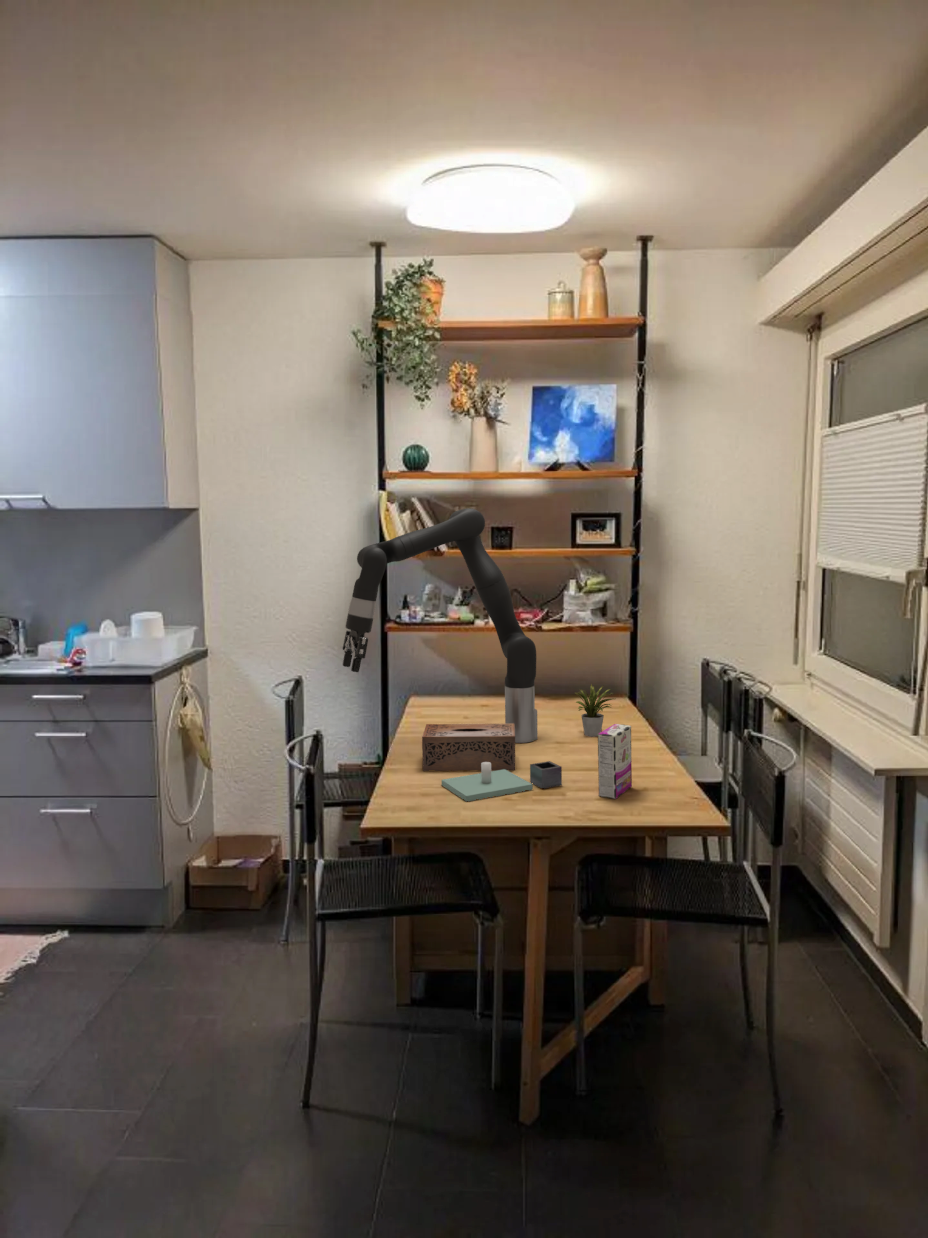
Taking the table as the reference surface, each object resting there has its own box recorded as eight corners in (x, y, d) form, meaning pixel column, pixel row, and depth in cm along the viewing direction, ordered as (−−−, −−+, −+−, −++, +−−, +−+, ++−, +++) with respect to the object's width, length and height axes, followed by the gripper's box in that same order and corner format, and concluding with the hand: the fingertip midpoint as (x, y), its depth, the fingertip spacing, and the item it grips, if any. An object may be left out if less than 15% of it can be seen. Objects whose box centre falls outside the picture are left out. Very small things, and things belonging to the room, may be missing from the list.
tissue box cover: (422, 771, 244) (422, 736, 243) (427, 757, 258) (426, 724, 257) (515, 771, 243) (515, 736, 242) (514, 756, 257) (514, 723, 256)
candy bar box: (614, 784, 229) (614, 723, 227) (632, 787, 226) (632, 725, 224) (596, 796, 220) (596, 732, 218) (615, 799, 217) (615, 735, 215)
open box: (549, 779, 234) (549, 761, 234) (561, 785, 229) (561, 766, 228) (530, 782, 232) (530, 764, 231) (541, 789, 226) (541, 770, 226)
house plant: (593, 744, 268) (593, 691, 266) (560, 735, 278) (559, 685, 276) (622, 735, 277) (623, 684, 275) (589, 727, 288) (589, 679, 286)
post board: (504, 774, 239) (504, 751, 238) (532, 789, 226) (532, 765, 225) (441, 785, 231) (441, 761, 230) (466, 801, 218) (465, 776, 217)
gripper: (381, 619, 249) (370, 675, 250) (365, 613, 262) (355, 666, 263) (356, 615, 246) (345, 672, 247) (341, 609, 259) (331, 663, 259)
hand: (350, 669), depth 255 cm, fingers open, 8 cm apart
